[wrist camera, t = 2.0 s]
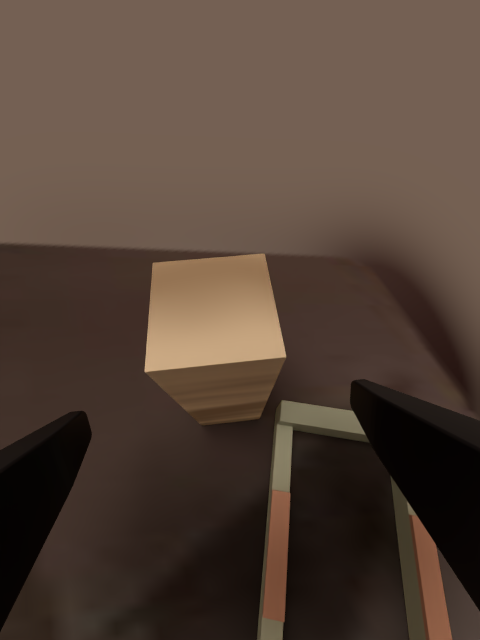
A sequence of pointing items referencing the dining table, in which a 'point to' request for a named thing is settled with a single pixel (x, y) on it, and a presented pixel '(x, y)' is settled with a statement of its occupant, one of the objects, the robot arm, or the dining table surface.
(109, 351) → the dining table surface
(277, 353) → the birch finger
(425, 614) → the sage rail
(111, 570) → the dining table surface
